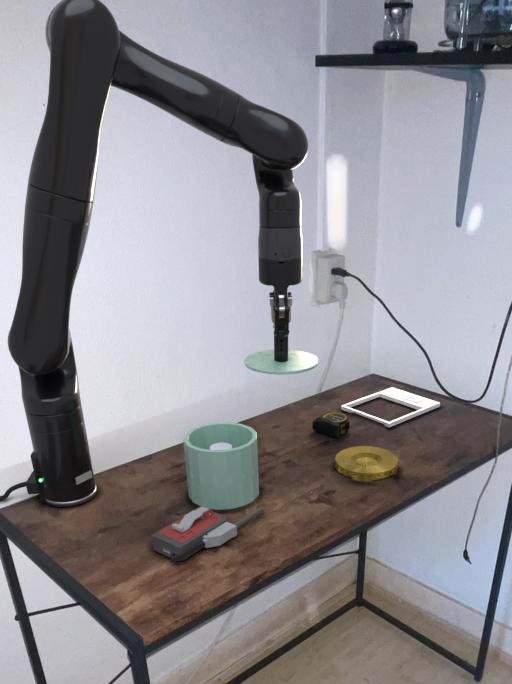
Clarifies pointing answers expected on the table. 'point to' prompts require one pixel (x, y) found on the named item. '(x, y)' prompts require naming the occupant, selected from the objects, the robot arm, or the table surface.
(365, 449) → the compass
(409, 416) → the photo frame
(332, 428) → the tape measure
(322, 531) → the table surface
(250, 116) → the robot arm
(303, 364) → the lid
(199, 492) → the cylindrical container
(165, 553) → the walkie-talkie
